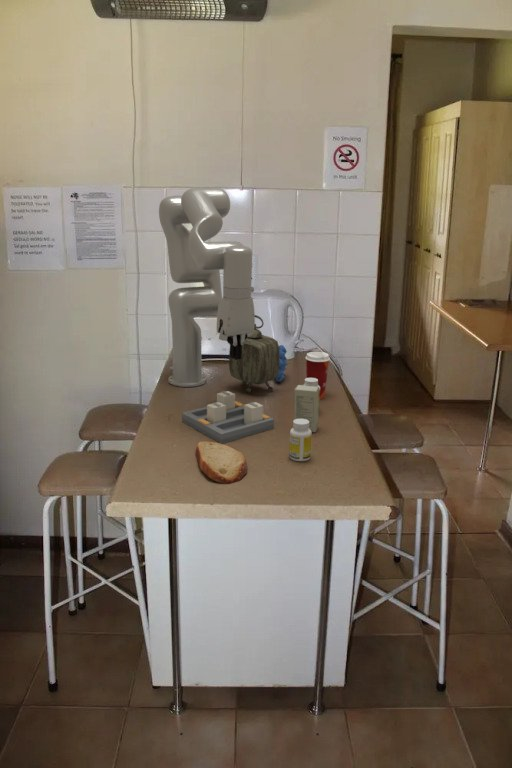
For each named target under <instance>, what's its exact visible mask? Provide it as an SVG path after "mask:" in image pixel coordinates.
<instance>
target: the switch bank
mask: <svg viewBox="0 0 512 768" xmlns="http://www.w3.org/2000/svg"><path fill="white" fill-rule="evenodd" d="M244 405H245V404H243V403H241V402H239V401H237V400H235V408H233V409H229V410H226V420H224V421H220V422H217V423H213V424H211V423H210V422H208V421H207V406H205V407H200V408H197V409H192V410H189V411H184V412H182V413H181V418H182V419H181V422H182V423H184V424H185V425H187V426H188V427H190V428H192V429H194V430H196V431H198V432H200V433H202V434H203V435H205V436H207V437H209V438H210V439H212V440H213V441H216V442H217V443H220V444H225V443H229V442H231V441H236V440H239V439H242V437H243V438H245V437H249V436H252V435H255V434H259V433H262V432H266V431H269V430H273V429H274V428H275V419H274V418H272V417H270V416H268V415H267V414H265V413H263V420H261V421H258V422H254V423H251V424H247V425H246V424H244Z"/></svg>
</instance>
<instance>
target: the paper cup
mask: <svg viewBox="0 0 512 768" xmlns="http://www.w3.org/2000/svg"><path fill="white" fill-rule="evenodd" d="M305 360H306V362H305V363H306V364H305V365H306V378H316V379H318V385H319V386H320V400H322V399H325V395H326V389H327V388H326V387H327V381H328V379H327V378H328V371H329V361H331V358H330V355H329V353H327V352H324V351H310V352H307V353H306V356H305Z"/></svg>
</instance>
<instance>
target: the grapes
mask: <svg viewBox="0 0 512 768" xmlns="http://www.w3.org/2000/svg"><path fill="white" fill-rule="evenodd" d="M287 352H288V351H287V349H286V347H285V346H284V345H283V344H281V345H279V353H280V363H279V371H278V375H277V377H276V378H275V379H274V380H276V382H277V383H280V382H282V381H283V380H284V379H285V377H286V375H285V373H284V372H285V370H287V365H288V362H287V357H286V354H287Z"/></svg>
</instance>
